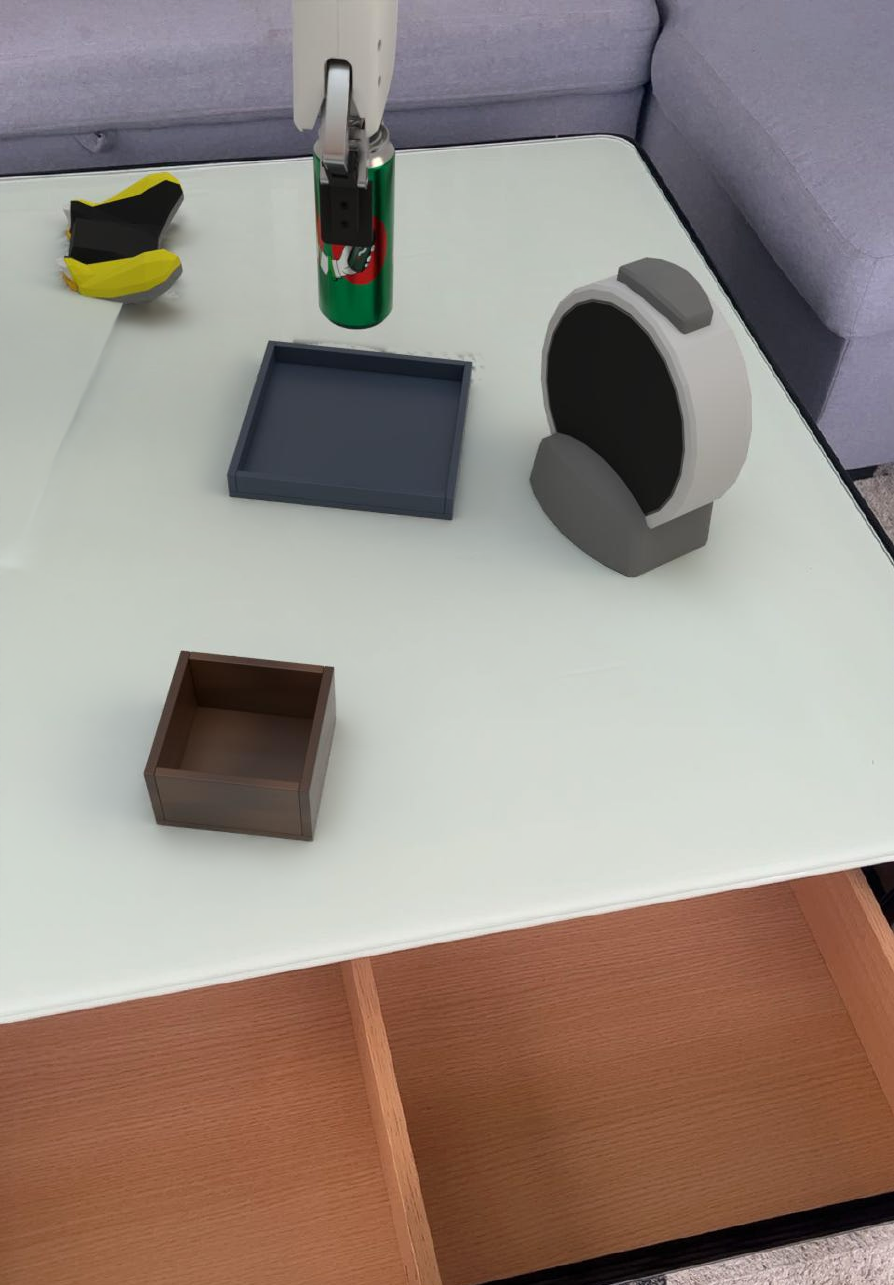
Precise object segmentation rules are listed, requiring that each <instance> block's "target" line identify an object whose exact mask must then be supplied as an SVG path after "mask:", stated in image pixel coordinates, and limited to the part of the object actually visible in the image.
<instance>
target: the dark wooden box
mask: <svg viewBox="0 0 894 1285" xmlns="http://www.w3.org/2000/svg"><path fill="white" fill-rule="evenodd" d="M335 675H336V672H335V666H330V665H323V664H322V665H320V664H312V663H311V664H310V663H302V662H293V661H286V660H285V661H284V660H273V659H266V658H256V657H247V656H237V655H228V654H218V653H210V652H202V651H201V652H200V651H191V650H190V651H189V650H180V653H179V654H178V658H177V661H176V665H175V669H174V672H173V674H172V678H171V682H170V685H169V688H168V692H167V694H166V695H167V696H166V698H165V701H164V704H163V708H162V711H161V715H160V718H159V721H158V725H157V727H156V731H155V734H154V738H153V740H152V744H151V748H150V751H149V754H148V757H147V761H146V764H145V767H144V770H143V778H144V781H145V786H146V788H147V794H148V797H149V801H150V804H151V808H152V813H153V816H154V819H155V824H157V825H162V826H171V827H178V828H179V827H180V828H189V829H196V830H197V829H198V830H208V831H215V832H216V831H217V832H227V833H234V834H242V835H243V834H244V835H253V836H262V837H269V838H270V837H272V838H280V839H289V840H297V841H307V842H313V841H314V837H315V831H316V828H317V822H318V816H319V811H320V808H321V802H322V795H323V791H324V785H325V781H326V775H327V770H328V765H329V760H330V754H331V749H332V744H333V739H334V734H335V728H336V723H337V699H336V680H335V679H336V676H335Z"/></svg>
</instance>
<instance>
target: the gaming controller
mask: <svg viewBox="0 0 894 1285" xmlns="http://www.w3.org/2000/svg"><path fill="white" fill-rule="evenodd" d="M184 200H185V194H184V189H183V187H182V184H181V182H180V180H179V179H178V178H177V177H176V176H175V175H172V174H171V173H169V172H168V171H161V172H156V173H150V174H147V175H145V176H144V177H142V178H141V179H139V180H137V181H136V182H135V183H133V184H131V185H129V186H128V187H126V188H124V189H123V190H122V191H120V192H119V193H117V194H114V195H113V196H111V197H109V198H108V199H106V200H104V201H102V202H92V201H88V200H87V199H71V200H70V201H69V202H62V210H63V213H64V215H65V217H66V219H67V221H68V223H69V227H68V229H67V231H66V237H67V239H68V240H69V246H68V255H64V256H63V257H59V258H56V259H55V261H56V263H57V264H58V267H59V268H60V269H61V273H62V278H63V280H64V282H65V283H66V284H67V286H68V288H70V290H71V291H73V292H78V294H79V295H80V296H81V295H82V296H84V297H88V298H93V299H97V300H103V301H108V302H113V303H120V304H122V305H131V304H133V305H134V304H143V303H152V302H154V301H155V300H156V299H158V298H159V297H161V296H162V295H163V294H165V293H166V292H168V291H169V290H170V289H171V288H172V287H173V286H174V285H175V283H176V282H177V281H178V279H179V278H180V277H181V276H182V274H183V272H184V270H183V264H182V261H181V259H180V257H179V256H178V254H175V253H173V252H171V251H169V250H167V249H165V248H160V246H161V242H162V240H163V238H164V236H165V234H166V232H167V231H168V229H169V226H170V225H171V223H172V221H173V220H174V218H175V217H176V215H177V213H178V212H179V209H180V207H181V205H182V203H183V202H184Z"/></svg>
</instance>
